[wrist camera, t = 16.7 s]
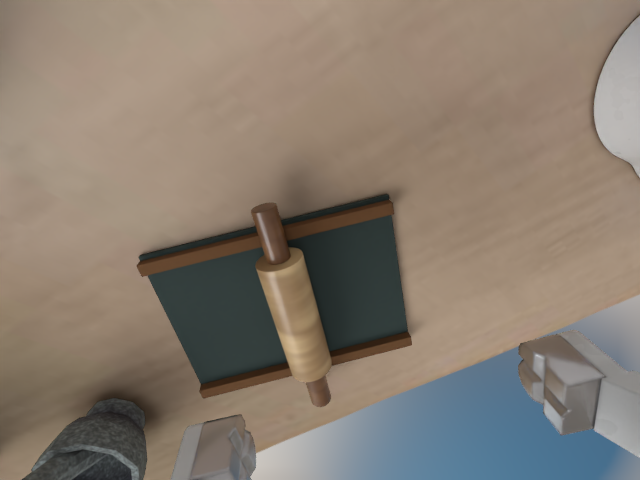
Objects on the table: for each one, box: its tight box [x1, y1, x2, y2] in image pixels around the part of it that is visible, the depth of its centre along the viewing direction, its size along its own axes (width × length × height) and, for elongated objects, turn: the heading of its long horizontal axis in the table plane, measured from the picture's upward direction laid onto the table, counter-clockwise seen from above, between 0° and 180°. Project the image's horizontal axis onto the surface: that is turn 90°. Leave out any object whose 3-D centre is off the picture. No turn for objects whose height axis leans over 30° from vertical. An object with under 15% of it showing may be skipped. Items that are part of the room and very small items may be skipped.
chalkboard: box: [137, 194, 412, 398], centre depth 36 cm, size 24×18×2 cm
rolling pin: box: [251, 203, 332, 407], centre depth 34 cm, size 4×23×4 cm, turn 12°
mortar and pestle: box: [22, 398, 147, 480], centre depth 34 cm, size 11×9×12 cm
